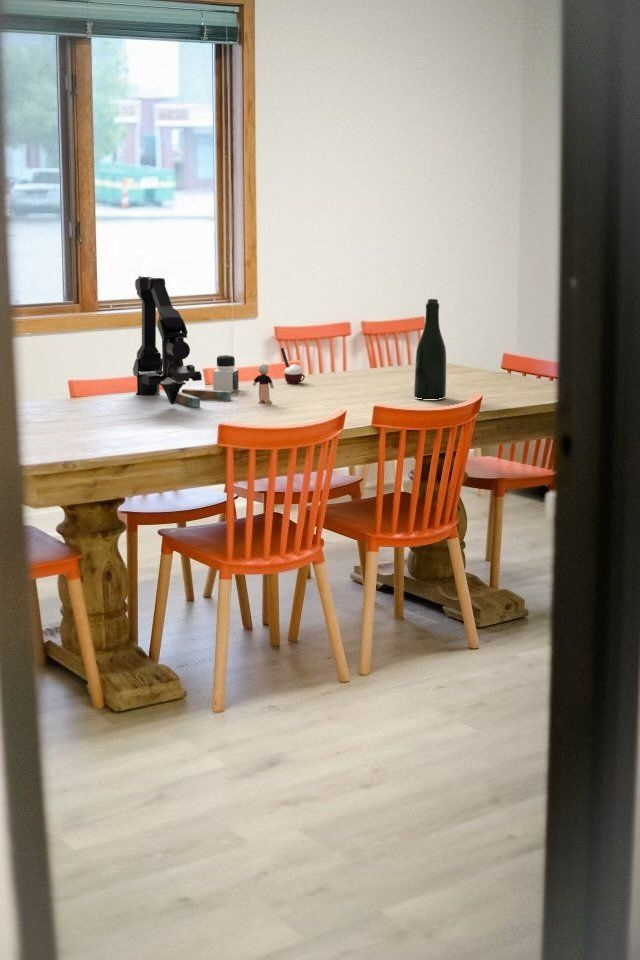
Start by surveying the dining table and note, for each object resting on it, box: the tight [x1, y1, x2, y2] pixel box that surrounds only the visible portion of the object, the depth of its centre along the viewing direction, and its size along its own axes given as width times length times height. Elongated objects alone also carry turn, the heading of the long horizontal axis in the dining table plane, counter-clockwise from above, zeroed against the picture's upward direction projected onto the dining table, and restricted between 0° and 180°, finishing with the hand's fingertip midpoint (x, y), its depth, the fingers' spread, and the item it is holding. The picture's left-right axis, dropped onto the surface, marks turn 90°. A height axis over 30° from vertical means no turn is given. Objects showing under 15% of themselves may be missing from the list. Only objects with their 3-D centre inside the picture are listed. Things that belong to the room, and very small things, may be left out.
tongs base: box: [181, 388, 232, 402], centre depth 402 cm, size 22×6×4 cm, turn 74°
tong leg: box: [175, 391, 201, 408], centre depth 394 cm, size 16×2×3 cm, turn 34°
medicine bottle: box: [212, 354, 239, 394], centre depth 418 cm, size 7×7×12 cm
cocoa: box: [280, 347, 306, 385], centre depth 434 cm, size 10×6×12 cm, turn 38°
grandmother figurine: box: [252, 363, 274, 405], centre depth 395 cm, size 8×4×13 cm, turn 71°
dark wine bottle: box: [413, 298, 447, 399], centre depth 403 cm, size 10×10×33 cm
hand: (172, 404), depth 387 cm, fingers closed
